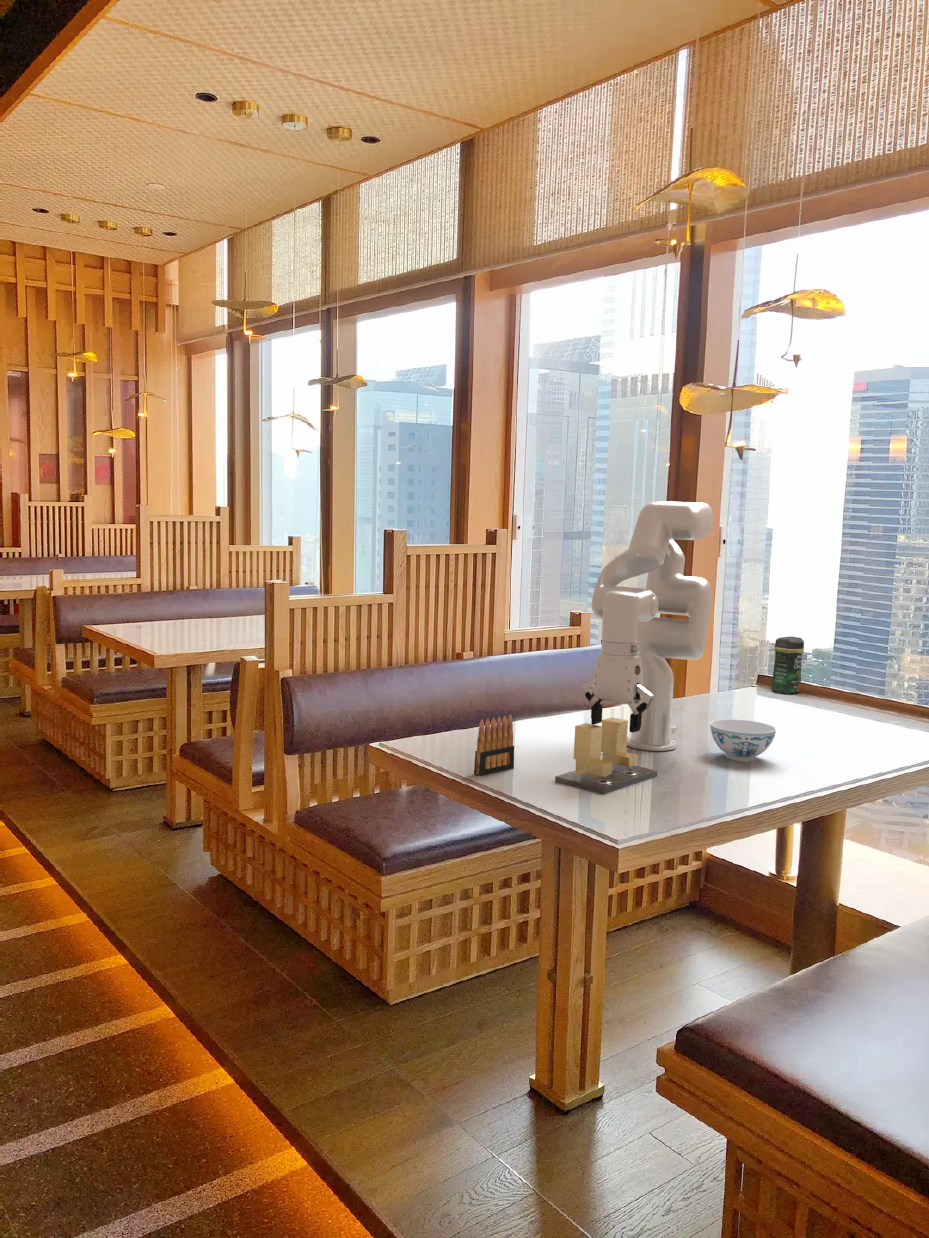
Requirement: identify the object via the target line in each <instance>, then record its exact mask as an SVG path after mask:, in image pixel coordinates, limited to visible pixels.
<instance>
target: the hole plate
mask: <svg viewBox="0 0 929 1238" xmlns="http://www.w3.org/2000/svg"><path fill="white" fill-rule="evenodd" d="M601 740H602V725H597V724H591V723H587V722H586V723H585V722H584V723H581V724H577V725H574V742H573V760H575V770H572V771H569V772H566V773H563V774H559V775H557V776H554V782H555V783H556V784H562V785H564V786H570V787H573V788H576V789H581V790H585V791H590V792H592V793H597V794H600V795H606V794H609V793H612V792H614V791H617V790H620V789H623V788H626V787H629V786H632V785H635V784H637V783H641V782H643V781H646V780H649V779H652V778H655V777H657V776H658V770H657V769H652V768H647V767H644V766H640V765H634V766H632V771H629V767H626V766H621V765H617V764H613V762H608V761H604V760H602V759H601V757H602V756H601V755H602V754H601V753H602V752H601Z"/></svg>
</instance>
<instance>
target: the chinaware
mask: <svg viewBox="0 0 929 1238" xmlns="http://www.w3.org/2000/svg"><path fill="white" fill-rule="evenodd" d="M709 726H710V732H711V733H710V734H711V735H712V738H713V741H714V742H715V744H716V745H717V747H718V748H719V749H720V750H721V751H722V752H724V753H725V757H726V758H727V759H730V760H731V761H735V760H737V761H736V762H744V761H746V763H747V762H754V761H756V759H757V756H759V755H761V754H763V753H764V752H765V751H767V750H768V748H769V747H770V746H771V744H772V742H773V741H774V739H775V736H776V732H777V728H776V727H775V726H773V725H771V724H767V723H764V722H760V721H753V720H748V719H747V720H745V719H731V718H730V719H729V718H728V719H727V718H726V719H717V720H713V721H710V723H709Z"/></svg>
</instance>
